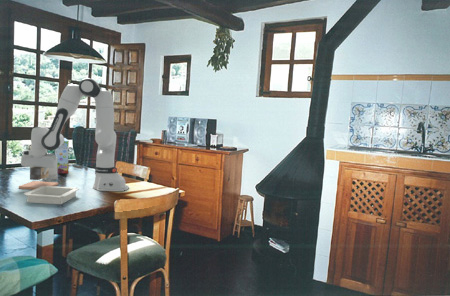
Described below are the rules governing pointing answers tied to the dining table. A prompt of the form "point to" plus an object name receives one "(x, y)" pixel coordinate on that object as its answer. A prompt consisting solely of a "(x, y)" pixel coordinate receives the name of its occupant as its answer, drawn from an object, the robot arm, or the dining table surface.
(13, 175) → the dining table surface
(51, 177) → the skincare box
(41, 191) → the white square tray
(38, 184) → the terracotta tile
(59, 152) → the snack box
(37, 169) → the box
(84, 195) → the dining table surface
